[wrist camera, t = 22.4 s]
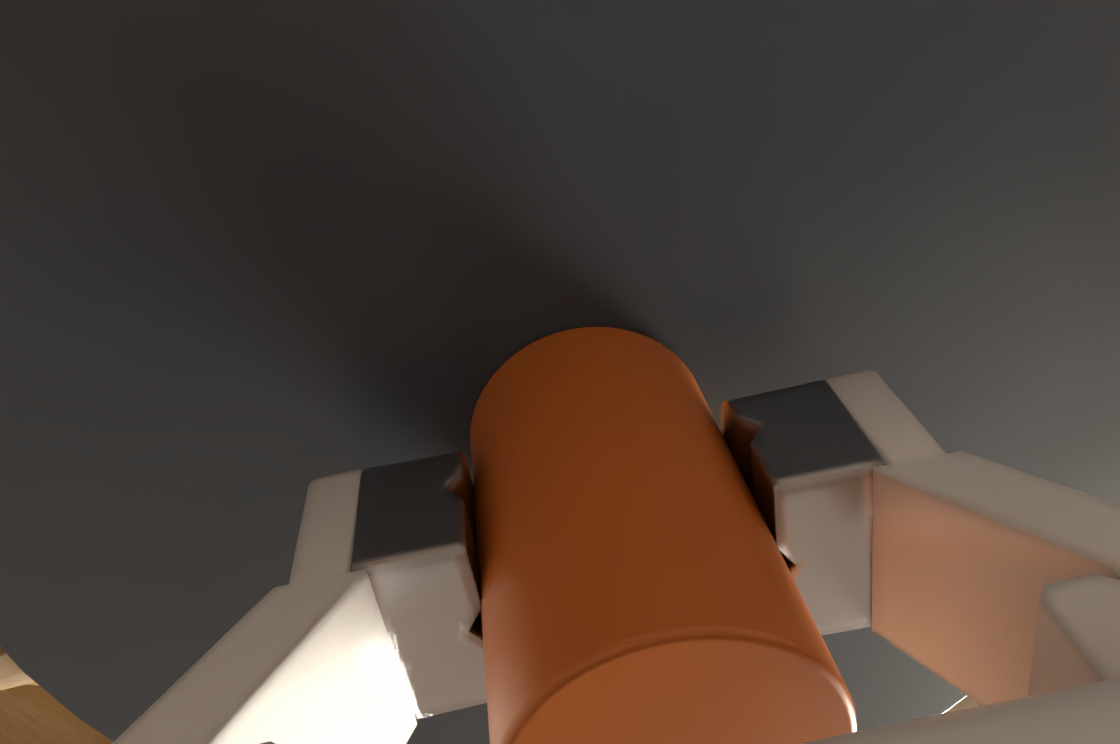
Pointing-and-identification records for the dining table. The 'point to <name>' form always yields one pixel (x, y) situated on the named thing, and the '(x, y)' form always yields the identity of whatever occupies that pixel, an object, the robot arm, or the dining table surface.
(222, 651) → the robot arm
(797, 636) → the pot lid
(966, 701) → the dining table surface
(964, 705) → the dining table surface
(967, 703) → the dining table surface
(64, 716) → the tableware set
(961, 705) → the dining table surface
